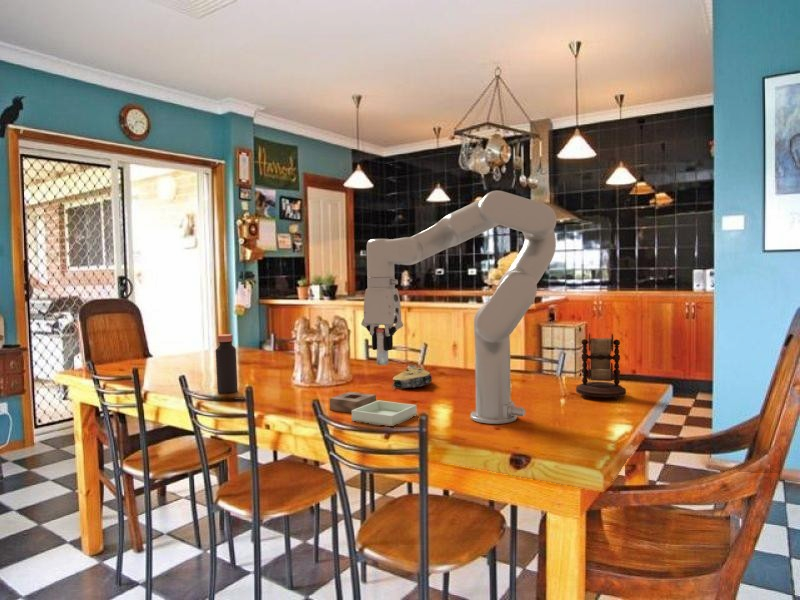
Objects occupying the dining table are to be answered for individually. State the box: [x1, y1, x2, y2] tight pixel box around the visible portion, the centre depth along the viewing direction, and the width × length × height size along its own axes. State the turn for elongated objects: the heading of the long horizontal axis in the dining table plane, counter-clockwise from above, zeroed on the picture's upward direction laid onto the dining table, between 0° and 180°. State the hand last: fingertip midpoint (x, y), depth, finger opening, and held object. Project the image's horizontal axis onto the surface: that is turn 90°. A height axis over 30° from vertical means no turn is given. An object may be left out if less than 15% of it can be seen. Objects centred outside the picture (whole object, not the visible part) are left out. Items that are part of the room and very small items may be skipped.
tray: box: [351, 399, 418, 427], centre depth 160 cm, size 13×13×3 cm
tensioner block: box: [329, 391, 377, 414], centre depth 172 cm, size 10×10×4 cm
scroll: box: [575, 332, 627, 402], centre depth 179 cm, size 15×15×20 cm
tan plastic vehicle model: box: [391, 364, 433, 390], centre depth 208 cm, size 14×6×30 cm
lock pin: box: [376, 327, 389, 366], centre depth 159 cm, size 3×3×10 cm
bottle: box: [215, 333, 239, 394], centre depth 199 cm, size 7×7×20 cm
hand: (382, 349), depth 159 cm, fingers closed on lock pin, 3 cm apart
